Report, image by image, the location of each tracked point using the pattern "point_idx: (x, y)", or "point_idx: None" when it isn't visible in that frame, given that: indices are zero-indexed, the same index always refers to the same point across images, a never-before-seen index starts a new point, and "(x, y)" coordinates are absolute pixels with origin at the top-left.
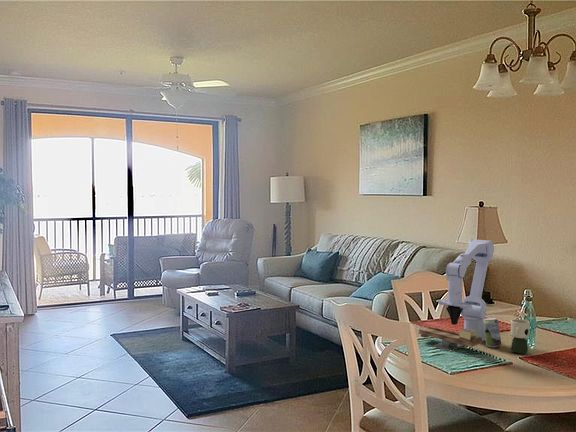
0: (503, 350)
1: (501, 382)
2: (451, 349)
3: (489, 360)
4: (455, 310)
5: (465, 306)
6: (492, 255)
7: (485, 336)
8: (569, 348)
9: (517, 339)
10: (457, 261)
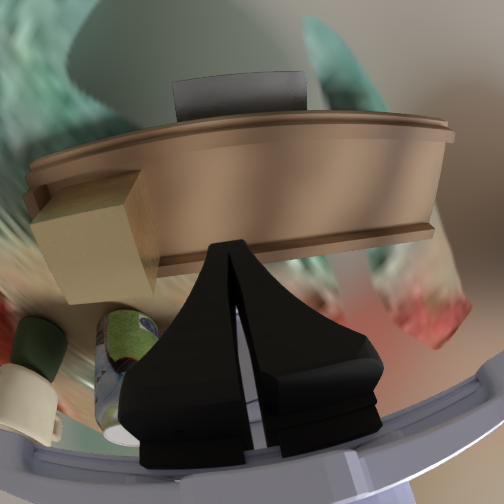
0: (78, 316)
1: None
2: (175, 104)
3: None
4: (139, 382)
5: (23, 477)
6: None
7: (141, 343)
8: (65, 413)
9: (16, 361)
10: None
